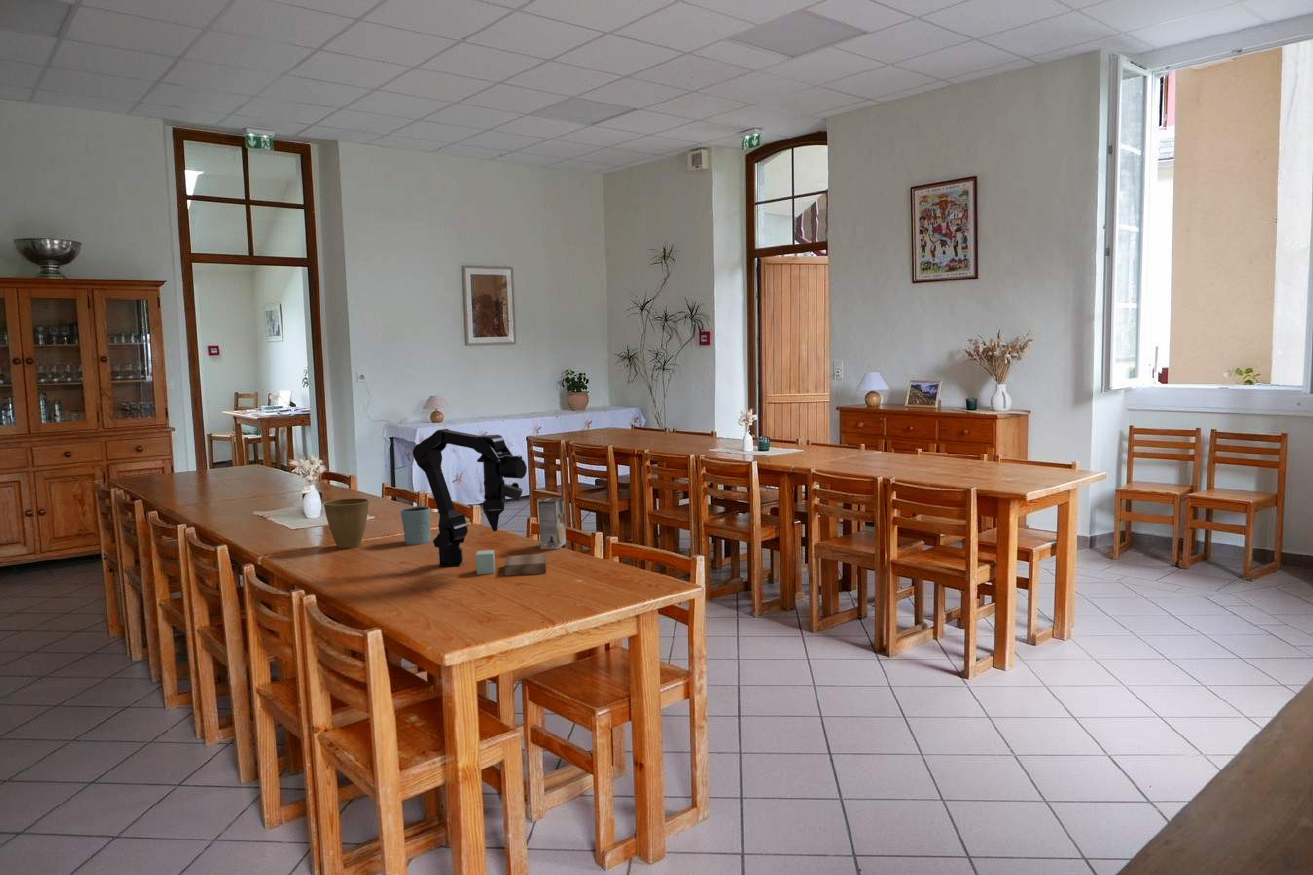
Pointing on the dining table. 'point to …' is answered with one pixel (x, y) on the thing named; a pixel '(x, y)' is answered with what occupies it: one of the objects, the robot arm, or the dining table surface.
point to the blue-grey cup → (416, 525)
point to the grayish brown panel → (525, 564)
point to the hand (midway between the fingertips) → (495, 527)
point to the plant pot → (347, 520)
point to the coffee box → (552, 522)
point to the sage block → (485, 562)
